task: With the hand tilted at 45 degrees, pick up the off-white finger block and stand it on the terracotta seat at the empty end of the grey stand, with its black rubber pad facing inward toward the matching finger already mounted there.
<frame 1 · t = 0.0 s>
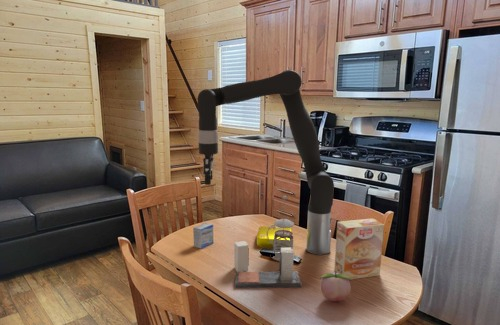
hand: (208, 182, 140), 29 cm above the table, tool pointing down, fingers open, 8 cm apart
finger block: (241, 269, 130), on the table
grey stand: (267, 281, 122), on the table
medicine box: (203, 245, 151), on the table
french press: (280, 256, 141), on the table
element tile: (274, 242, 156), on the table
decorative fruit: (333, 301, 110), on the table
coffeecake box: (356, 274, 128), on the table
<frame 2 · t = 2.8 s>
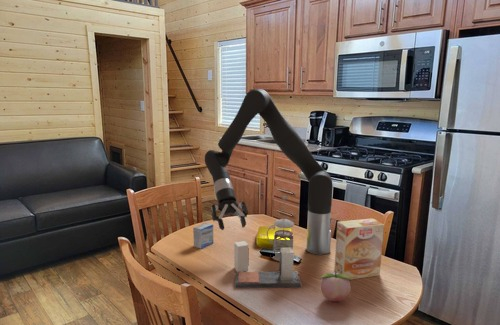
hand: (233, 227, 136), 13 cm above the table, tool tilted 45°, fingers open, 8 cm apart
nothing on the table moved.
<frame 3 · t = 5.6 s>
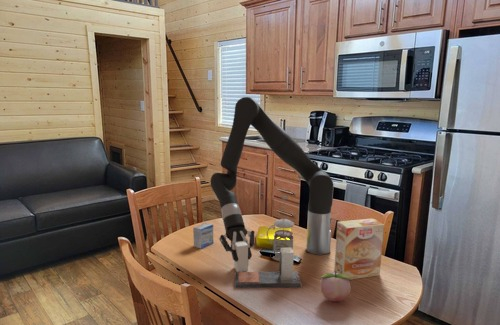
hand: (243, 259, 128), 5 cm above the table, tool tilted 45°, fingers closed on finger block, 4 cm apart
finger block: (241, 269, 130), on the table, touching gripper
everything else where it was.
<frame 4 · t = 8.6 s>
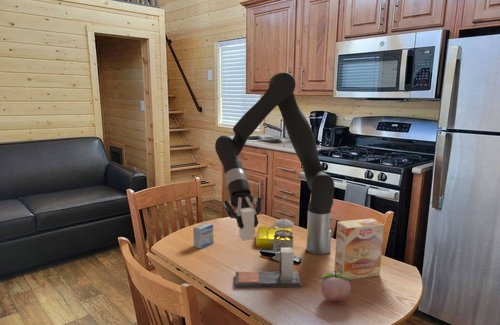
hand: (249, 226, 118), 20 cm above the table, tool tilted 45°, fingers closed on finger block, 4 cm apart
finger block: (246, 237, 120), point 15 cm above the table, touching gripper
everything else where it was.
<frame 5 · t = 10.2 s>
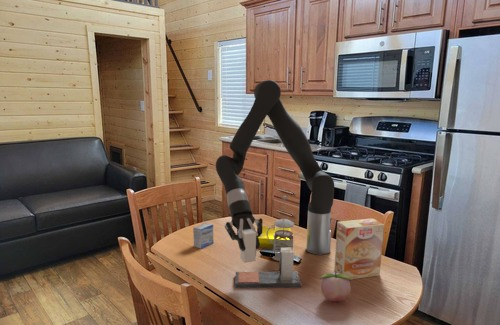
hand: (250, 249, 117), 13 cm above the table, tool tilted 45°, fingers closed on finger block, 4 cm apart
finger block: (247, 259, 120), point 8 cm above the table, touching gripper
everything else where it was.
when the fingers open (8 cm above the table, at t = 11.6 s): finger block drops 1 cm, resting on grey stand.
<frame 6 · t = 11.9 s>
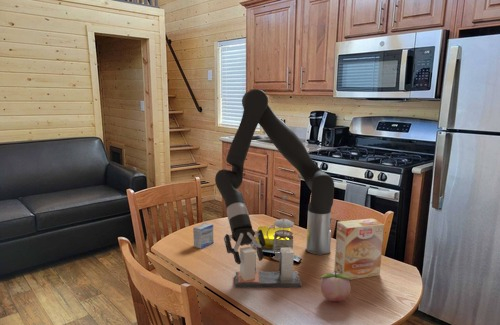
hand: (250, 261, 119), 8 cm above the table, tool tilted 45°, fingers open, 7 cm apart
finger block: (247, 276, 121), point 2 cm above the table, touching grey stand
everything else where it was.
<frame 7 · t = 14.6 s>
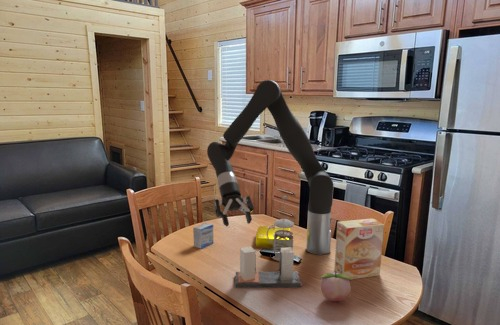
hand: (238, 224, 128), 17 cm above the table, tool tilted 45°, fingers open, 8 cm apart
nothing on the table moved.
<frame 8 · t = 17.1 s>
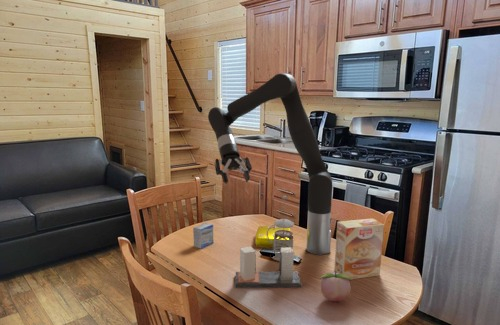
hand: (237, 181, 135), 31 cm above the table, tool tilted 45°, fingers open, 8 cm apart
nothing on the table moved.
at the end: finger block 0.4 cm from the target spot on the grey stand, point 1.7 cm above the grey stand's base; finger block tilted 0°; the gripper is holding nothing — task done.
